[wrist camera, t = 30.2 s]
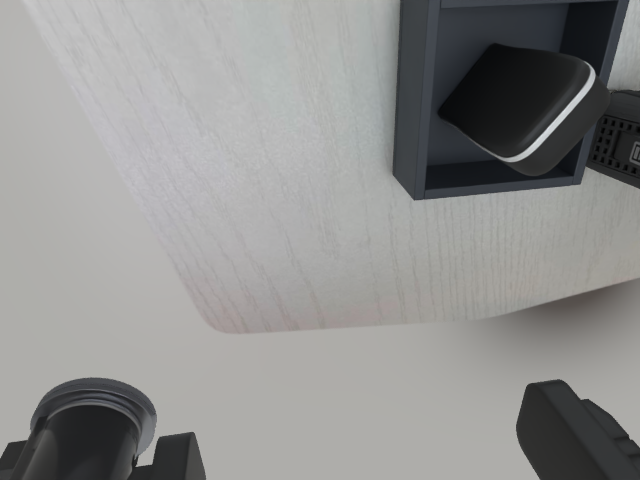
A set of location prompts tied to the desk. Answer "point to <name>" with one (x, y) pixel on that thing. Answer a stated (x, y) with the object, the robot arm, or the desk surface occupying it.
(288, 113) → the desk surface
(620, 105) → the headphones
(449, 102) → the battery charger
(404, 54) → the bin
